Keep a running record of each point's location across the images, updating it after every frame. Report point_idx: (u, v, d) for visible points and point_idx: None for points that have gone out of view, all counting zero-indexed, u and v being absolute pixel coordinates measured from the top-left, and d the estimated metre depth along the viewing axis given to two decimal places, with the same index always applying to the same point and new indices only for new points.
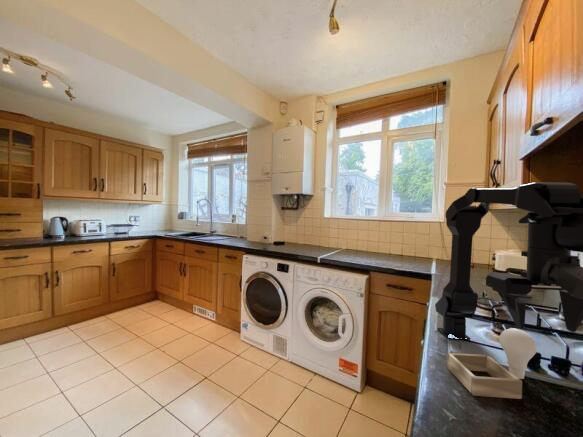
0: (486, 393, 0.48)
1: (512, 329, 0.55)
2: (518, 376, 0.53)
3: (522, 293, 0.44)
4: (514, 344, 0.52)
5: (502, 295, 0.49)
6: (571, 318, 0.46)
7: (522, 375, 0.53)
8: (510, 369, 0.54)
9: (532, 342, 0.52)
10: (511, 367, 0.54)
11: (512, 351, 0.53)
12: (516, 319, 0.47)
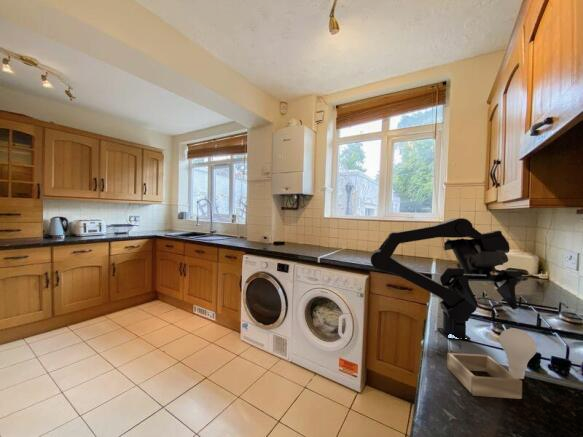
0: (486, 393, 0.48)
1: (512, 329, 0.55)
2: (518, 376, 0.53)
3: (460, 274, 0.64)
4: (514, 344, 0.52)
5: (456, 290, 0.66)
6: (509, 299, 0.62)
7: (522, 375, 0.53)
8: (510, 369, 0.54)
9: (532, 342, 0.52)
10: (511, 367, 0.54)
11: (512, 351, 0.53)
12: (471, 301, 0.62)
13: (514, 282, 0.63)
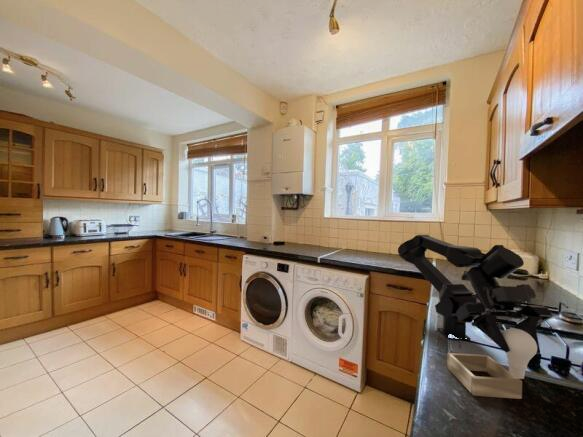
0: (486, 393, 0.48)
1: (513, 329, 0.55)
2: (518, 376, 0.53)
3: (480, 311, 0.56)
4: (514, 344, 0.52)
5: (481, 328, 0.59)
6: None
7: (522, 375, 0.53)
8: (510, 369, 0.54)
9: (533, 342, 0.52)
10: (512, 367, 0.54)
11: (512, 351, 0.53)
12: (500, 343, 0.54)
13: (535, 321, 0.55)
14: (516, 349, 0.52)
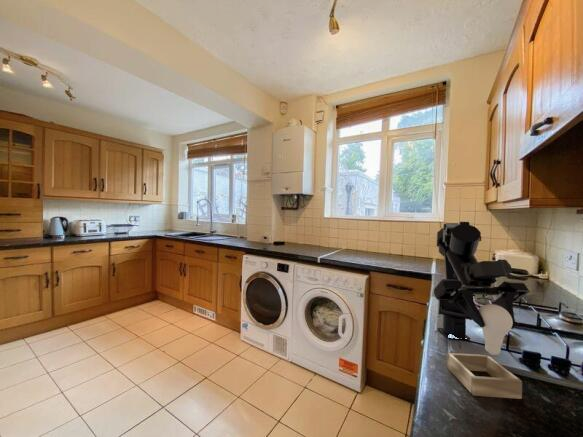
0: (486, 393, 0.48)
1: (489, 304, 0.54)
2: (494, 351, 0.52)
3: (456, 287, 0.55)
4: (490, 319, 0.51)
5: (458, 305, 0.57)
6: None
7: (498, 350, 0.52)
8: (486, 345, 0.53)
9: (508, 316, 0.51)
10: (488, 343, 0.53)
11: (488, 326, 0.52)
12: (476, 319, 0.53)
13: (512, 296, 0.54)
14: (491, 324, 0.51)
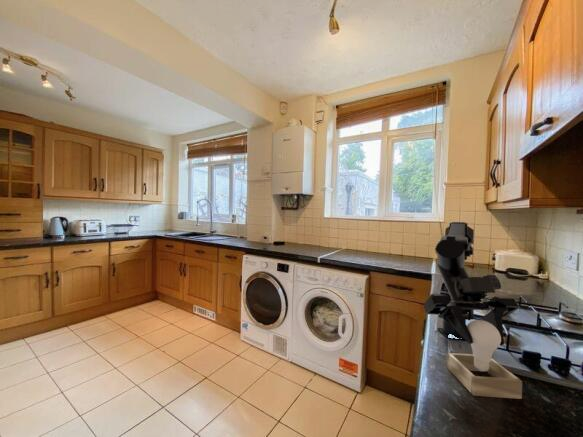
0: (486, 393, 0.48)
1: (478, 320, 0.53)
2: (482, 368, 0.52)
3: (445, 302, 0.55)
4: (478, 336, 0.51)
5: (448, 320, 0.57)
6: None
7: (486, 367, 0.52)
8: (475, 361, 0.53)
9: (496, 333, 0.51)
10: (476, 359, 0.53)
11: (476, 343, 0.52)
12: (464, 335, 0.53)
13: (501, 312, 0.54)
14: (479, 341, 0.51)
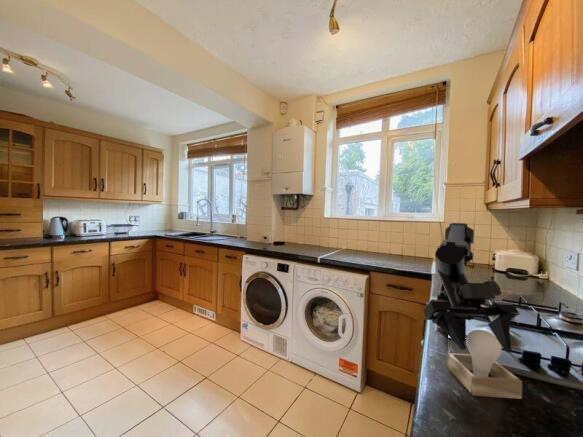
0: (486, 393, 0.48)
1: (478, 330, 0.53)
2: None
3: (445, 308, 0.55)
4: (478, 346, 0.51)
5: (441, 325, 0.57)
6: (502, 339, 0.53)
7: None
8: (474, 371, 0.53)
9: (497, 344, 0.50)
10: (476, 369, 0.53)
11: (476, 353, 0.52)
12: (457, 341, 0.53)
13: (508, 318, 0.54)
14: (480, 351, 0.51)
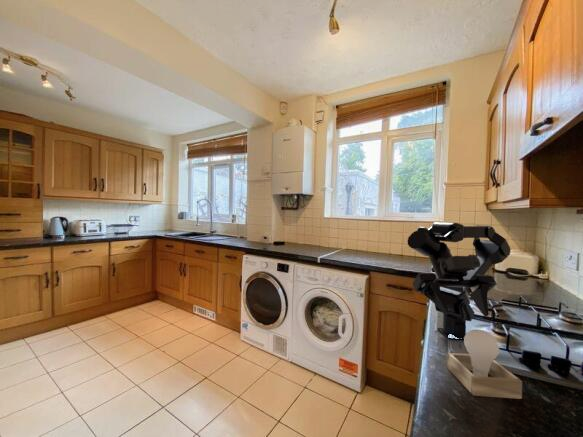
0: (486, 393, 0.48)
1: (476, 330, 0.54)
2: None
3: (431, 279, 0.62)
4: (476, 346, 0.51)
5: (428, 295, 0.64)
6: (481, 305, 0.60)
7: None
8: (474, 371, 0.53)
9: (494, 343, 0.51)
10: (475, 369, 0.53)
11: (475, 353, 0.52)
12: (442, 307, 0.60)
13: (486, 288, 0.61)
14: (478, 351, 0.51)
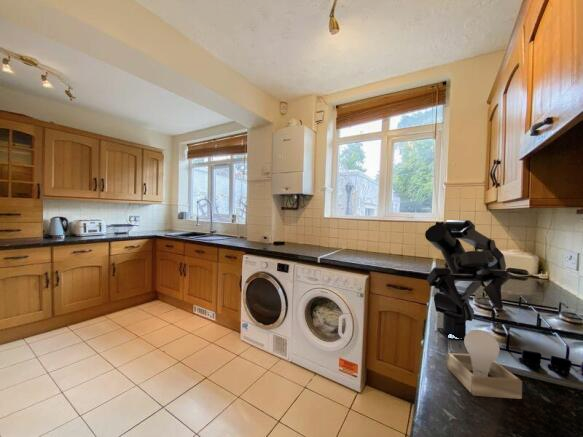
0: (486, 393, 0.48)
1: (476, 330, 0.54)
2: None
3: (446, 273, 0.64)
4: (476, 346, 0.51)
5: (442, 290, 0.66)
6: (495, 299, 0.61)
7: None
8: (474, 371, 0.53)
9: (495, 344, 0.51)
10: (475, 369, 0.53)
11: (475, 353, 0.52)
12: (456, 300, 0.62)
13: (500, 282, 0.62)
14: (478, 351, 0.51)
